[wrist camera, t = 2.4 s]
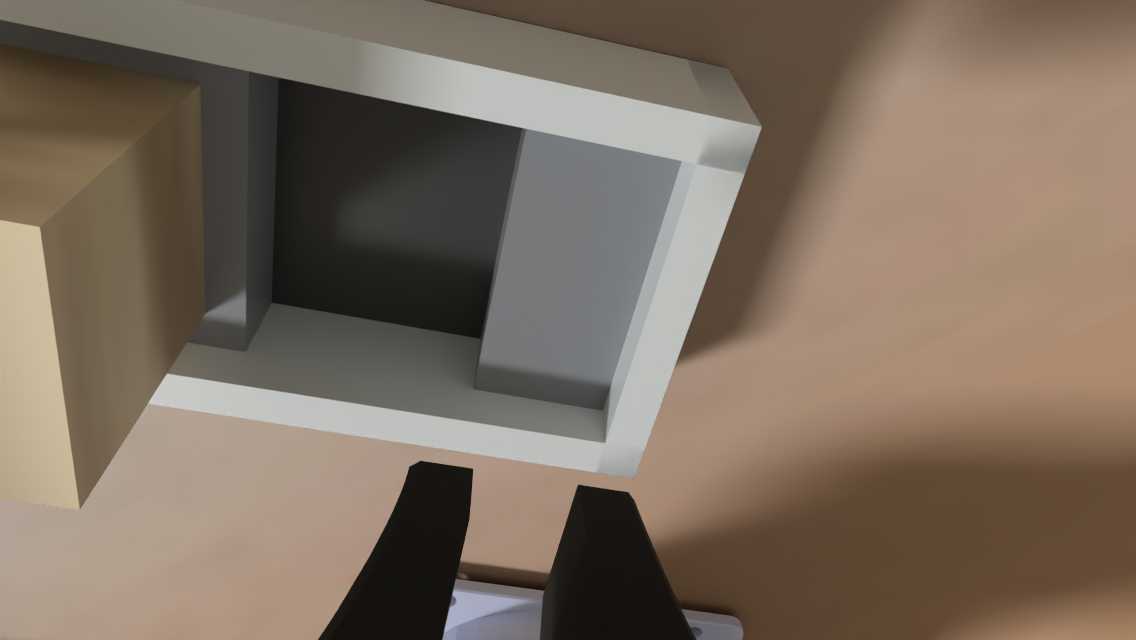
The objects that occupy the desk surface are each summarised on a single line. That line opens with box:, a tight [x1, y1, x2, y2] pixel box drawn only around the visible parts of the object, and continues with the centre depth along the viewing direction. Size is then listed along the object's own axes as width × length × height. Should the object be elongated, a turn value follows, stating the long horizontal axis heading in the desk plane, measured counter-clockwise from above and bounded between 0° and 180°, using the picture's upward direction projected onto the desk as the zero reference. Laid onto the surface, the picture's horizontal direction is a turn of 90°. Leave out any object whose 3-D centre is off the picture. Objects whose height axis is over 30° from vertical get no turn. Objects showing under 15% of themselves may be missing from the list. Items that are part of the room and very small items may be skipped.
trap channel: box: [0, 0, 762, 478], centre depth 15 cm, size 23×11×3 cm, turn 77°
